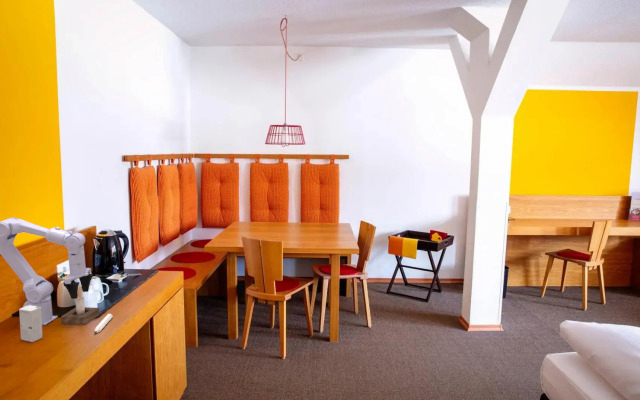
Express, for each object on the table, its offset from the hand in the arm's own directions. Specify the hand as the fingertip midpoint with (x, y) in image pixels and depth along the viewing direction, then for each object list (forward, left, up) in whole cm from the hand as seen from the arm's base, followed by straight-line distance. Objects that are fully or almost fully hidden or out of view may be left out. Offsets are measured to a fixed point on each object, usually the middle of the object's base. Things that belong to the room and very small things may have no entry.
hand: (80, 294), depth 176 cm
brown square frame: (0, 0, -10) cm, 10 cm away
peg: (0, 0, -10) cm, 10 cm away
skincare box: (-8, -18, -11) cm, 22 cm away
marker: (+12, -6, -11) cm, 18 cm away
